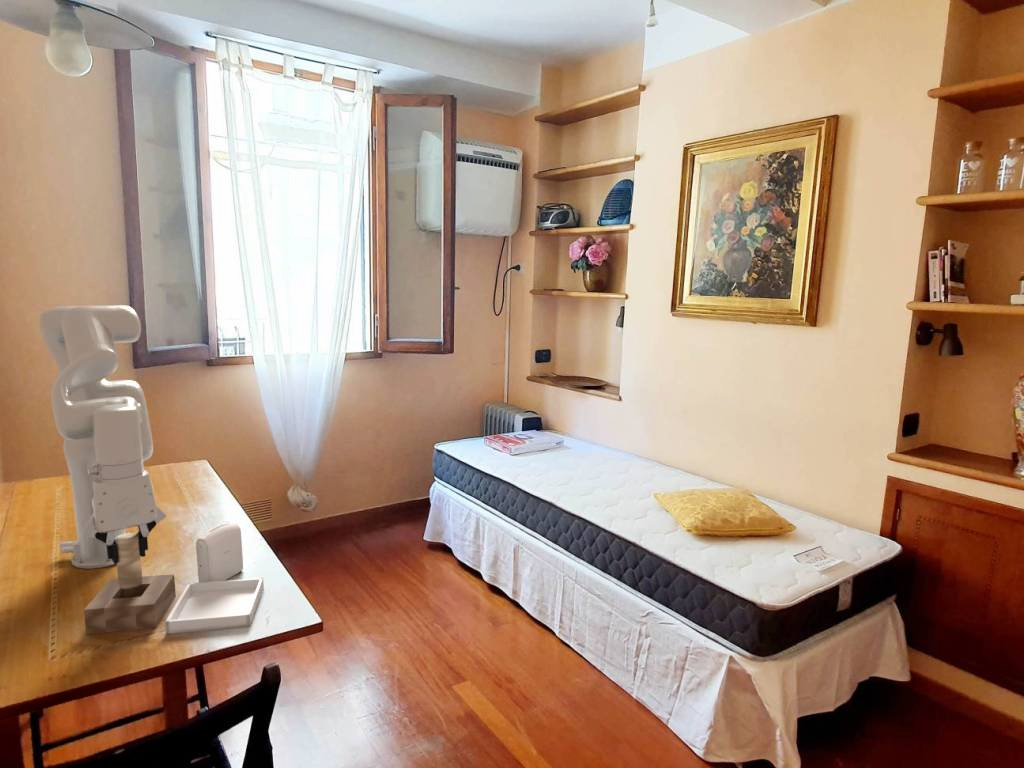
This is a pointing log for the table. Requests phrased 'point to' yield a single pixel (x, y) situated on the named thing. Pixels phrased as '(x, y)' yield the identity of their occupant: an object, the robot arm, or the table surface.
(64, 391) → the robot arm
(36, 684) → the table surface
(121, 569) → the dowel
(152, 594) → the holder
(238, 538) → the photo printer
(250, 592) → the tray
